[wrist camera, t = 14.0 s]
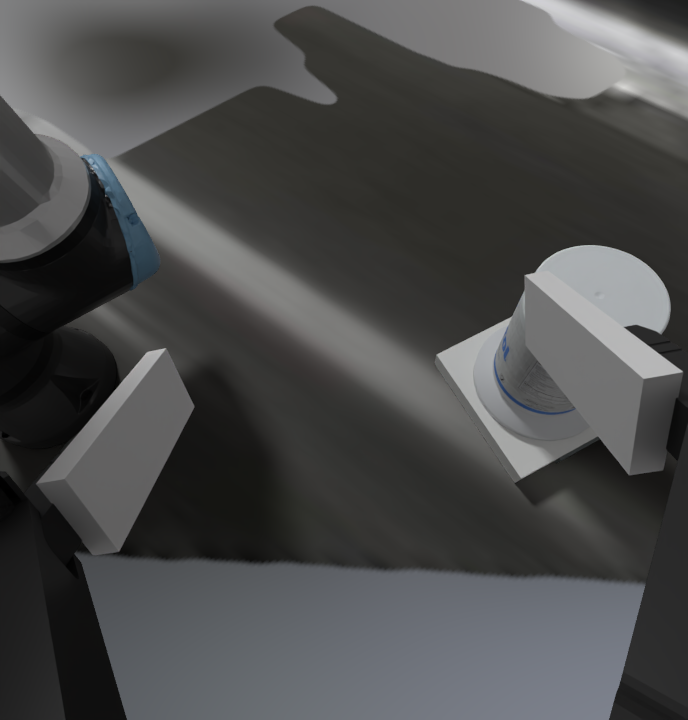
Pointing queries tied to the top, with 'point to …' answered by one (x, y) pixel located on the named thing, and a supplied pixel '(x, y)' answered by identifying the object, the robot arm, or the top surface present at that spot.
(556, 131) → the top surface
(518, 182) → the top surface
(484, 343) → the scale
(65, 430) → the robot arm
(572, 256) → the supplement tub
